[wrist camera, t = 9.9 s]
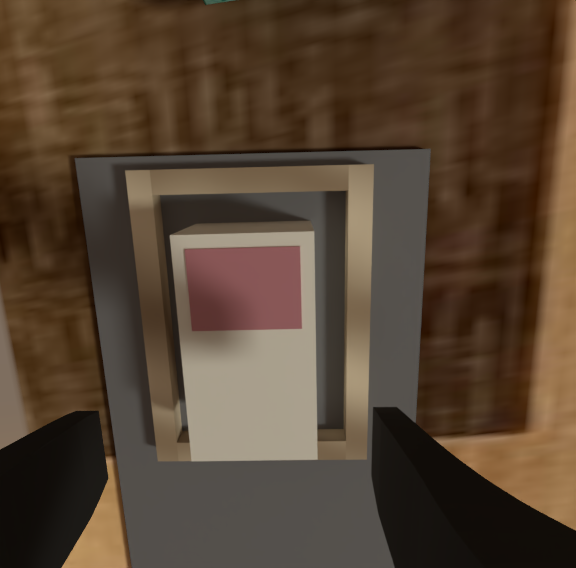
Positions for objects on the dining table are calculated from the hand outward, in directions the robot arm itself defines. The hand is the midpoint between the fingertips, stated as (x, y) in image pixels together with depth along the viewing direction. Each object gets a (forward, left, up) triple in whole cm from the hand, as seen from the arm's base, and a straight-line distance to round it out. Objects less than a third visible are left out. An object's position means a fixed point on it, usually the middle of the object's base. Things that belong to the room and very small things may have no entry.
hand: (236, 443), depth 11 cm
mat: (-4, -3, -9) cm, 11 cm away
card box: (0, 0, -9) cm, 9 cm away
